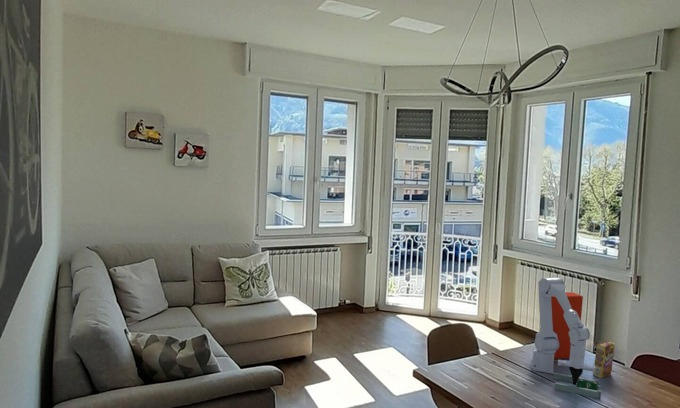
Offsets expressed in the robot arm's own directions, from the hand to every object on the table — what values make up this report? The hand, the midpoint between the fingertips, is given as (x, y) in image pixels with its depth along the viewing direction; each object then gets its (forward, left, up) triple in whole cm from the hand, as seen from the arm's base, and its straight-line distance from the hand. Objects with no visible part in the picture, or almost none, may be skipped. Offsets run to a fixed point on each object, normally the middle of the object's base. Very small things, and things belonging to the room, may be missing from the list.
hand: (574, 384), depth 213 cm
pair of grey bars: (0, 0, -1) cm, 1 cm away
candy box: (+13, +21, -2) cm, 25 cm away
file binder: (-6, +36, -2) cm, 37 cm away
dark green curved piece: (+5, -2, -2) cm, 6 cm away
